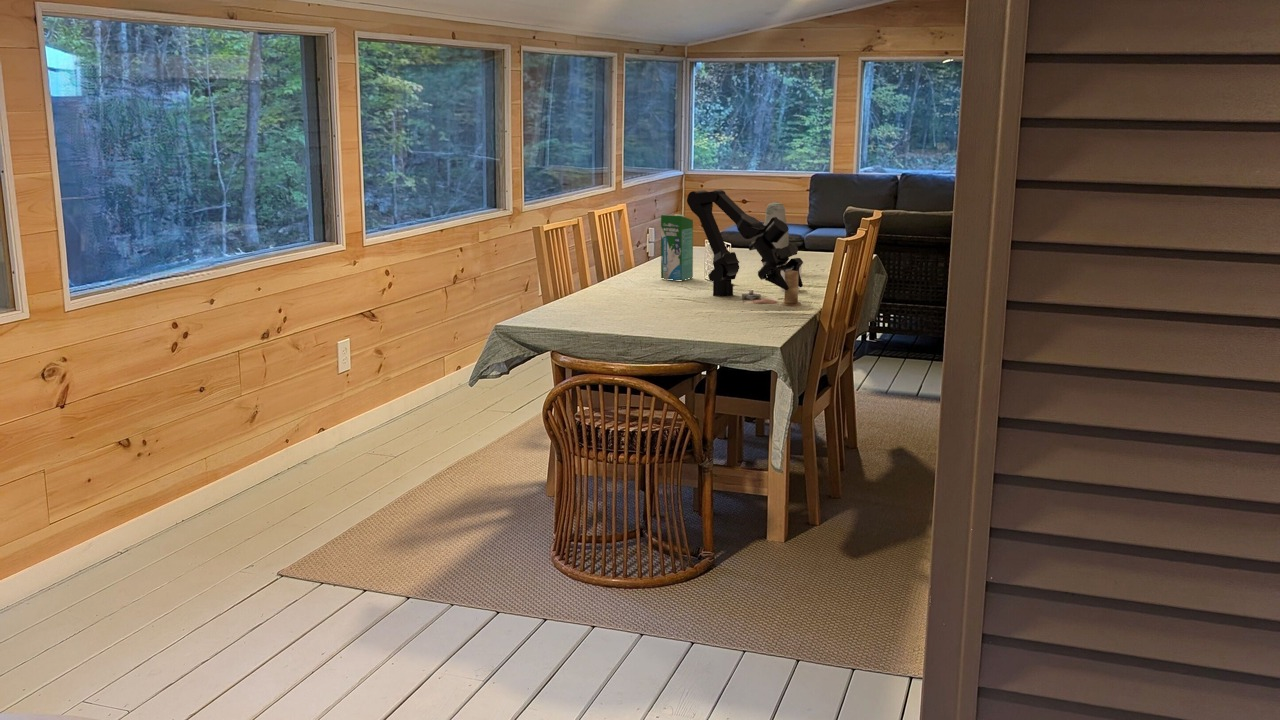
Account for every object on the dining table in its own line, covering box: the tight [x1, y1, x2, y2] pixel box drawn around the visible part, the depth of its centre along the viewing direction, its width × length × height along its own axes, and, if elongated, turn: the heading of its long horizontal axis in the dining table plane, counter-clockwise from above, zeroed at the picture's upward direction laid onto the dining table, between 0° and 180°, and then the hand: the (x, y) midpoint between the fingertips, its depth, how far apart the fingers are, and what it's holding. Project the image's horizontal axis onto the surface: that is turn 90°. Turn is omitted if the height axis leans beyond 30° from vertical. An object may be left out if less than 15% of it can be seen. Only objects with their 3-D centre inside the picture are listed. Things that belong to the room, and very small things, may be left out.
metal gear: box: [741, 289, 762, 300], centre depth 383 cm, size 6×7×3 cm
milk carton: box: [660, 213, 694, 281], centre depth 432 cm, size 9×9×25 cm
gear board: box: [741, 296, 780, 305], centre depth 381 cm, size 12×14×1 cm
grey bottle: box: [761, 201, 790, 267], centre depth 446 cm, size 10×10×28 cm
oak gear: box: [780, 271, 801, 307], centre depth 372 cm, size 6×6×12 cm
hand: (794, 288), depth 371 cm, fingers open, 8 cm apart
